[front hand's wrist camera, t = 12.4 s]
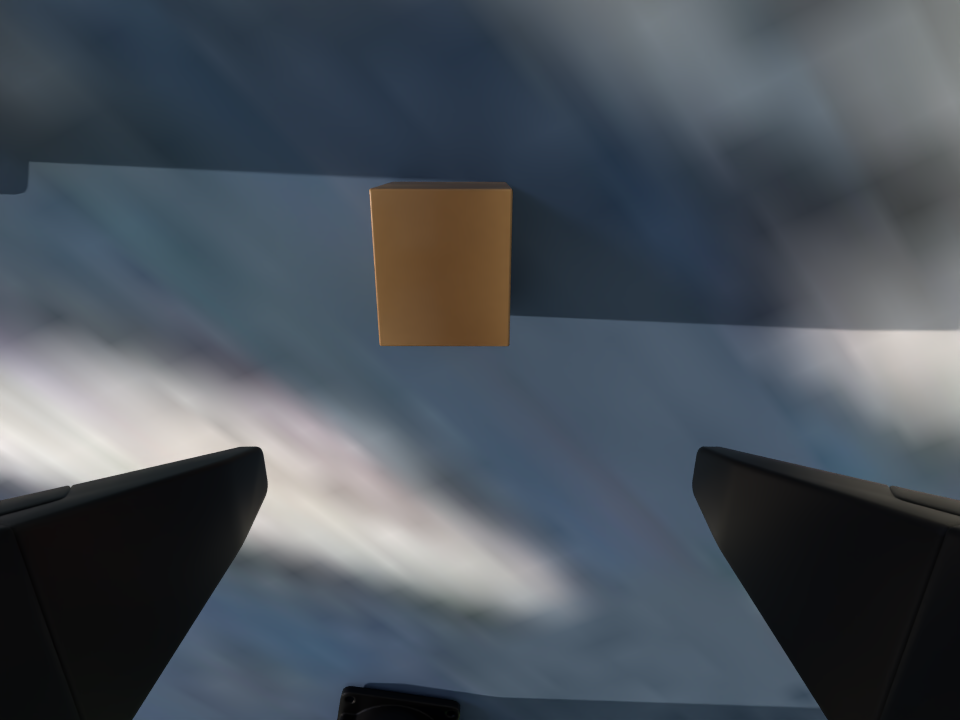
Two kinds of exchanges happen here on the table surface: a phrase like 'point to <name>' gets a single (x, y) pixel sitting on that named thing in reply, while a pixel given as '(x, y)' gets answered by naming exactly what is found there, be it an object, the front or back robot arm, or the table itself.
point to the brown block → (442, 262)
